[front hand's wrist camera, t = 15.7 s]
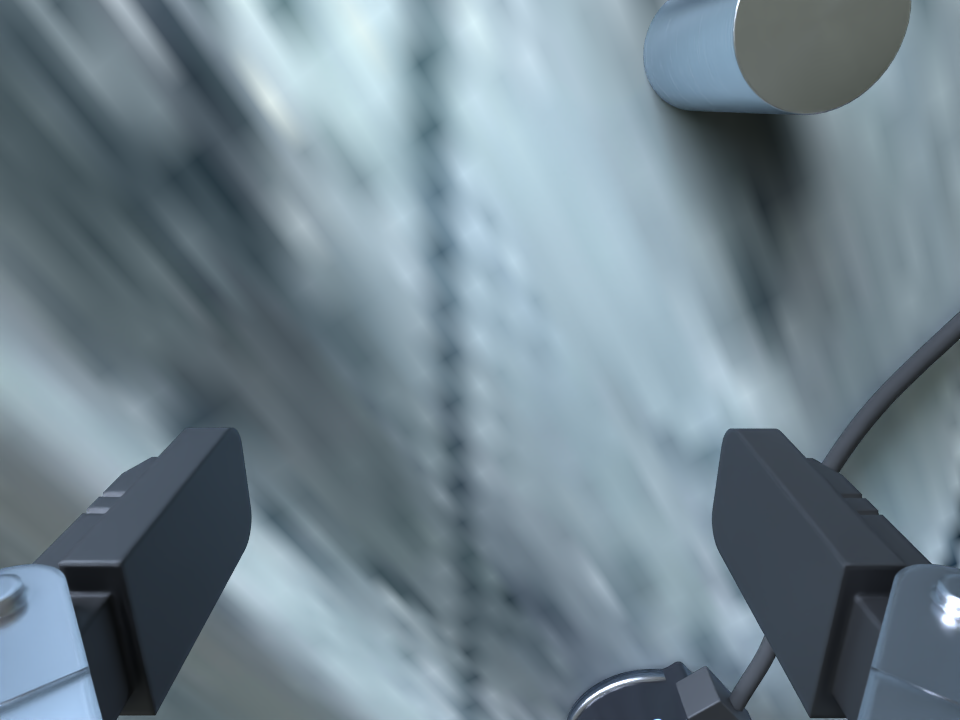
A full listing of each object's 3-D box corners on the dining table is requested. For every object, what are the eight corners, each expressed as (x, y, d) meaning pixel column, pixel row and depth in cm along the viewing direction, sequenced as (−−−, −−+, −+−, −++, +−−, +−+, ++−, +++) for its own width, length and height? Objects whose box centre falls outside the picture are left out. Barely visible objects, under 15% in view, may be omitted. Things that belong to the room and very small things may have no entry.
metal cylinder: (780, 15, 26) (949, -33, 17) (720, 129, 27) (845, 142, 18) (678, -38, 25) (796, -119, 16) (622, 81, 27) (700, 70, 17)
